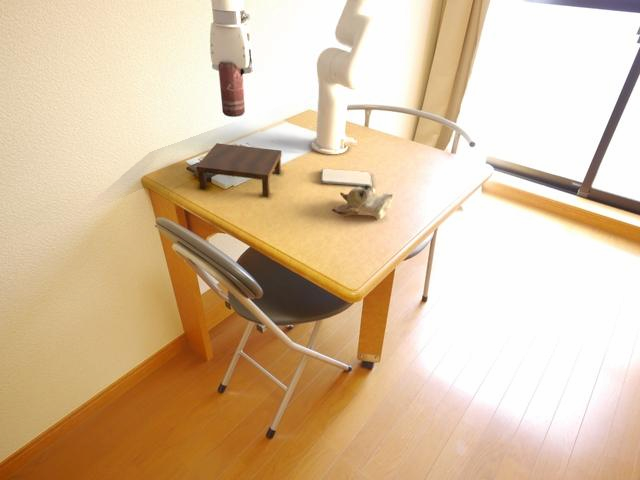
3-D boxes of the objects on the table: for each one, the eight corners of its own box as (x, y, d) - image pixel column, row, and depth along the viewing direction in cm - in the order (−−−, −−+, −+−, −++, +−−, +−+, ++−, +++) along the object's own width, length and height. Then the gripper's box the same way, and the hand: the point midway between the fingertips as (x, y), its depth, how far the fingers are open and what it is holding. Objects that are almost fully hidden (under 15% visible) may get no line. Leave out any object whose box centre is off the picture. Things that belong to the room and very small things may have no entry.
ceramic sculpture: (391, 199, 97) (330, 191, 101) (387, 229, 102) (330, 220, 106) (397, 180, 106) (341, 172, 109) (393, 208, 111) (340, 200, 114)
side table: (281, 171, 125) (281, 150, 121) (268, 197, 112) (268, 175, 108) (218, 164, 127) (216, 143, 122) (199, 189, 114) (195, 166, 110)
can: (247, 110, 116) (244, 58, 108) (241, 118, 111) (237, 64, 102) (226, 108, 116) (222, 56, 108) (219, 116, 111) (214, 61, 103)
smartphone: (372, 184, 119) (321, 180, 119) (371, 187, 120) (321, 183, 120) (370, 171, 126) (322, 167, 126) (369, 174, 126) (321, 170, 126)
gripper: (262, 18, 102) (264, 92, 113) (205, 13, 103) (213, 87, 114) (253, 22, 96) (256, 101, 107) (193, 17, 97) (202, 94, 108)
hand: (234, 93), depth 110 cm, fingers closed
